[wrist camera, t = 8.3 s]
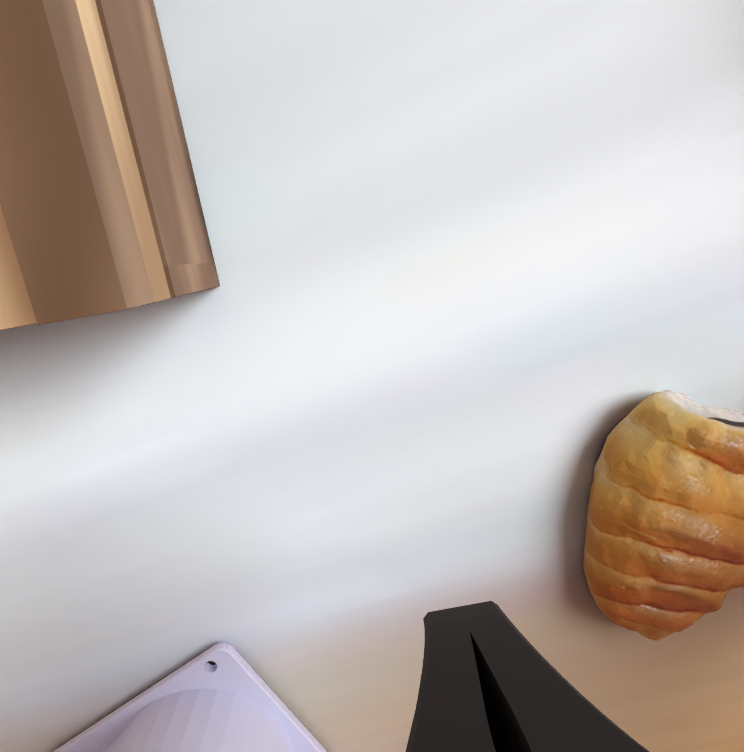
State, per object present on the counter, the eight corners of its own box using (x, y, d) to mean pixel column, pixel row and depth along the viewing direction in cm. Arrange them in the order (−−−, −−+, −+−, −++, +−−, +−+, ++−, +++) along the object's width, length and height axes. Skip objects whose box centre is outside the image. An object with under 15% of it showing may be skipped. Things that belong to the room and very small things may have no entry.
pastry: (688, 622, 23) (753, 694, 19) (537, 591, 22) (575, 659, 19) (776, 414, 21) (869, 449, 17) (615, 374, 20) (674, 401, 17)
